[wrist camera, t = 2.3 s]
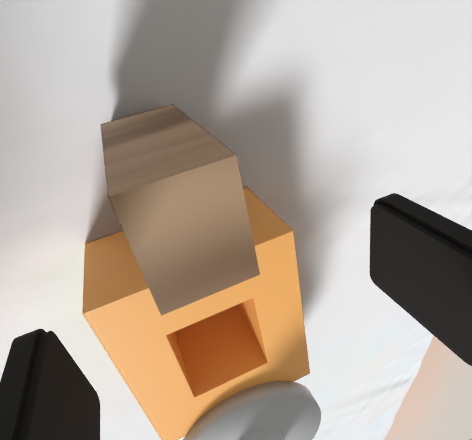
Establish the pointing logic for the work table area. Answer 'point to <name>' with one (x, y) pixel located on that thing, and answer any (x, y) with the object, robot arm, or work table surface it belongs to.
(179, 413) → the orange block with cylinder
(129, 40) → the work table surface
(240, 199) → the tan wooden block
